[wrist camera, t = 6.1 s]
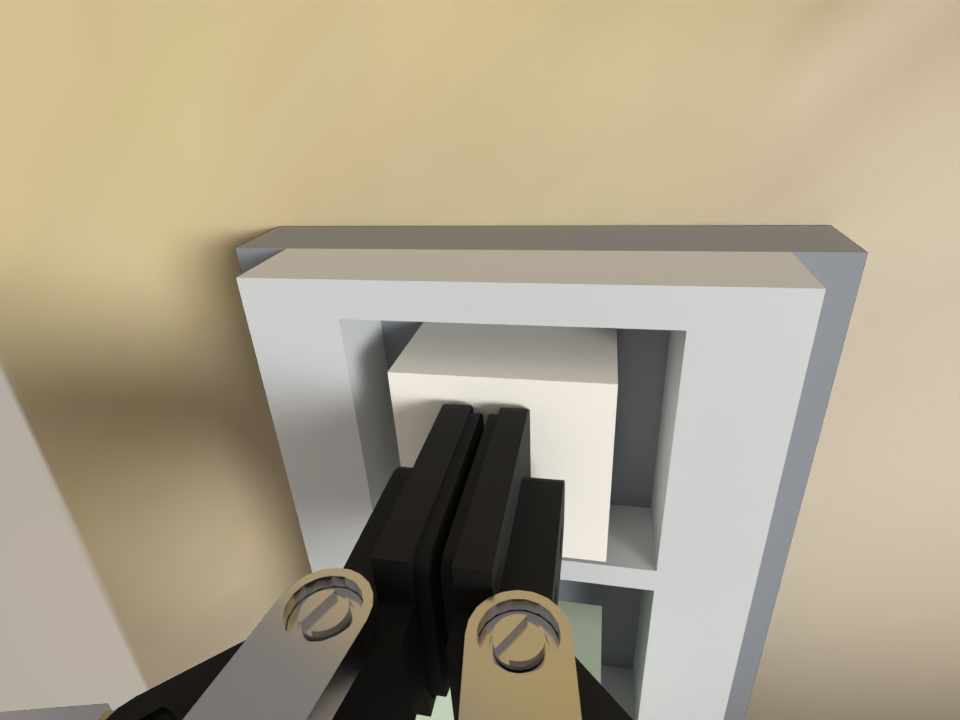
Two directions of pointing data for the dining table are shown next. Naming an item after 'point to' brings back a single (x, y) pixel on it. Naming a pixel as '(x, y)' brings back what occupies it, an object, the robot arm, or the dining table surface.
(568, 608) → the key sage
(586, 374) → the key ivory
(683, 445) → the keypad board
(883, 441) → the dining table surface
